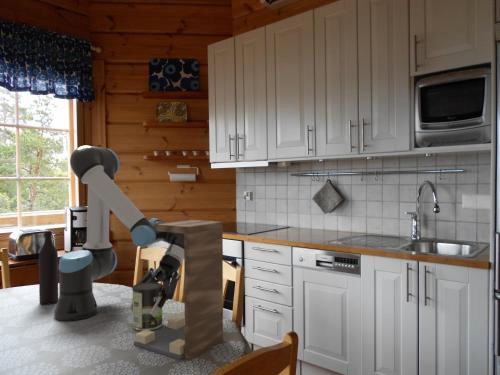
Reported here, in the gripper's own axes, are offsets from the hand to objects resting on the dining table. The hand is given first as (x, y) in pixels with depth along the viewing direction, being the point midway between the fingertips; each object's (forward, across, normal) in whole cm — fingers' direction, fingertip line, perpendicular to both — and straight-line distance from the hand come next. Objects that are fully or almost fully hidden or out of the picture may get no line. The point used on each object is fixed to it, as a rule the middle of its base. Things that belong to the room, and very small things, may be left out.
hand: (141, 312), depth 137 cm
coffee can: (+2, 0, -6) cm, 6 cm away
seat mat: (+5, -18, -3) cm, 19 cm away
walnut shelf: (+5, -24, -3) cm, 24 cm away
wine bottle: (+4, +55, -4) cm, 55 cm away
